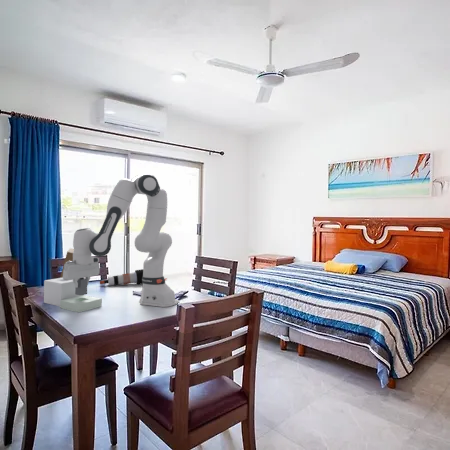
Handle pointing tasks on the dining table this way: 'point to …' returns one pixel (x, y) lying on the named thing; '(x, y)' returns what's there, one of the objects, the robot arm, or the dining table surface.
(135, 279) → the grey banded tapered cylinder
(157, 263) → the robot arm
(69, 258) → the photo frame
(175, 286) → the dining table surface
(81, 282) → the plug
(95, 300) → the plate
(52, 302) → the block
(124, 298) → the dining table surface
